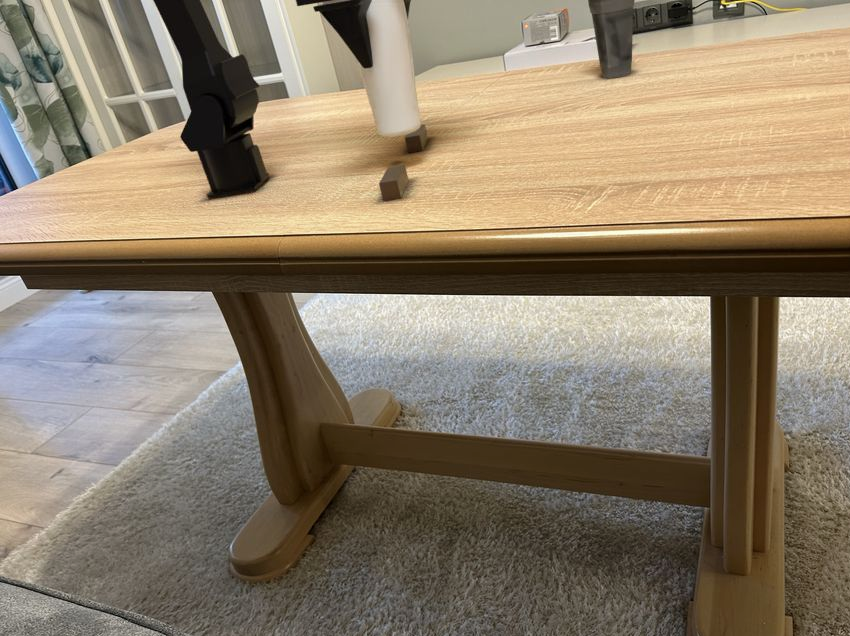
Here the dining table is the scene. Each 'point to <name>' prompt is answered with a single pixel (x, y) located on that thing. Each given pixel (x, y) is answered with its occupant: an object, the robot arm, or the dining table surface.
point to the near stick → (393, 182)
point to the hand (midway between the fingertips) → (384, 61)
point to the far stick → (416, 139)
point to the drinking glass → (391, 70)
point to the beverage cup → (613, 35)
